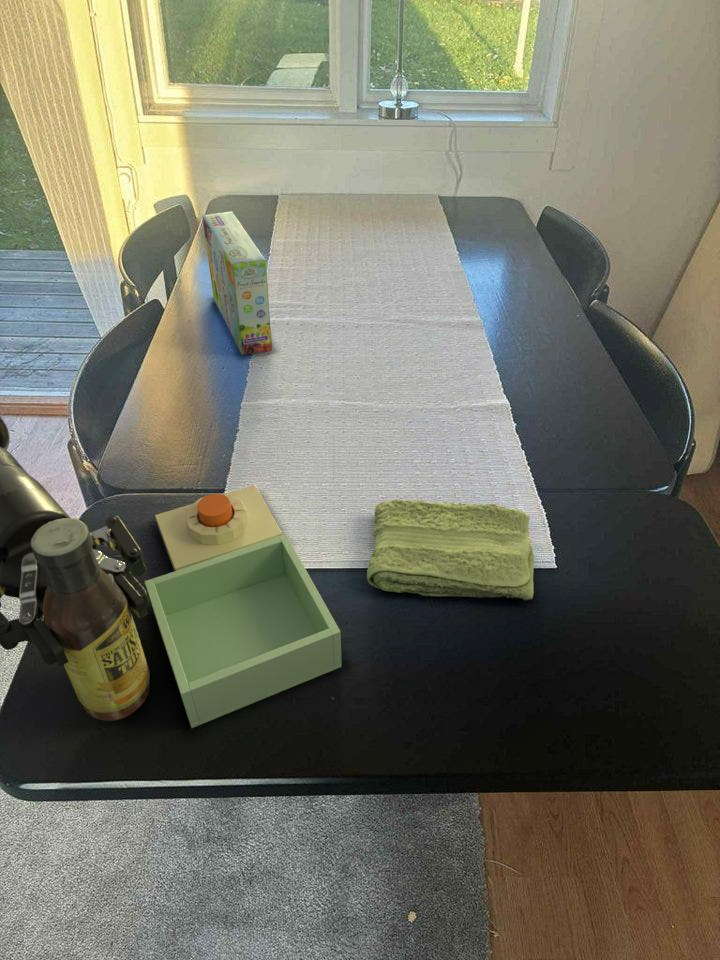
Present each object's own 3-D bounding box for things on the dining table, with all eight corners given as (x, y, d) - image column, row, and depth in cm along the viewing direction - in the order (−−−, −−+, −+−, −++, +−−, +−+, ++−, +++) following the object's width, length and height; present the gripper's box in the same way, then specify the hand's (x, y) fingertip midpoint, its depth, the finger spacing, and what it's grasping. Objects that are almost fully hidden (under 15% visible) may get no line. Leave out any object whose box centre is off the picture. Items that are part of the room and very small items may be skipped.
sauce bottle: (137, 730, 61) (76, 580, 47) (69, 719, 61) (-9, 569, 48) (165, 665, 65) (117, 513, 52) (101, 656, 66) (38, 504, 53)
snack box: (276, 351, 110) (267, 258, 100) (241, 358, 108) (229, 265, 98) (242, 293, 125) (232, 208, 115) (211, 299, 123) (198, 213, 113)
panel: (178, 580, 75) (172, 558, 72) (158, 526, 81) (152, 504, 78) (283, 545, 78) (281, 522, 76) (256, 496, 85) (253, 474, 82)
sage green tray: (191, 728, 62) (180, 694, 58) (155, 616, 71) (144, 581, 67) (341, 666, 66) (340, 631, 63) (289, 569, 76) (286, 534, 72)
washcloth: (536, 608, 72) (542, 588, 70) (365, 596, 73) (365, 575, 71) (526, 519, 81) (530, 498, 79) (374, 509, 83) (375, 489, 81)
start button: (204, 531, 76) (202, 520, 75) (195, 510, 78) (193, 499, 77) (236, 521, 77) (234, 509, 76) (226, 501, 79) (224, 489, 78)
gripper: (-84, 530, 58) (-5, 658, 49) (80, 457, 65) (175, 555, 56) (-50, 589, 63) (28, 715, 54) (99, 514, 70) (190, 613, 61)
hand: (103, 632), depth 55 cm, fingers closed on sauce bottle, 6 cm apart
